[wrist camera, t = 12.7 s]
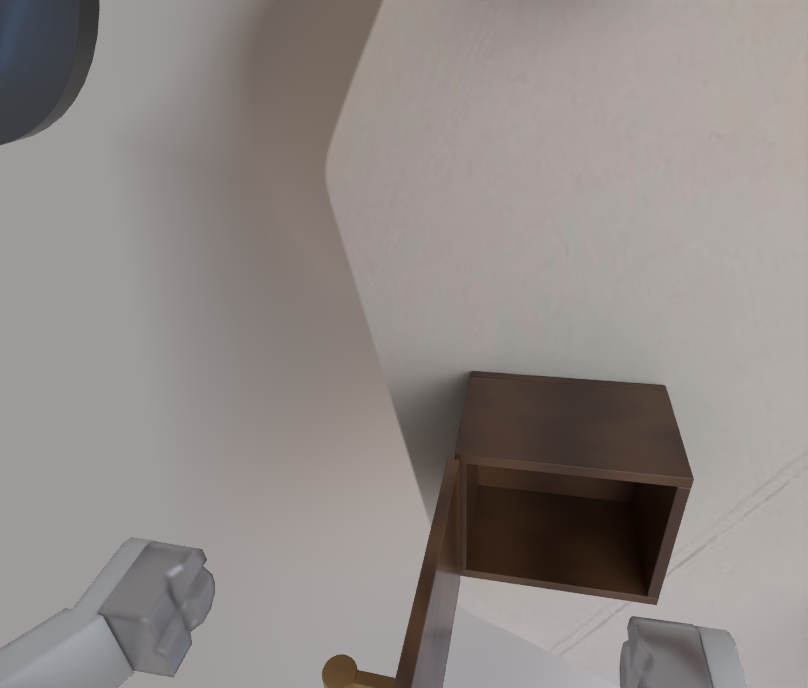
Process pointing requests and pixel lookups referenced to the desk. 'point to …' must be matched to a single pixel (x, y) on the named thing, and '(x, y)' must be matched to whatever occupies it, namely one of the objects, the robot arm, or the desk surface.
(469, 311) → the desk surface
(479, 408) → the chest
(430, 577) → the chest door
